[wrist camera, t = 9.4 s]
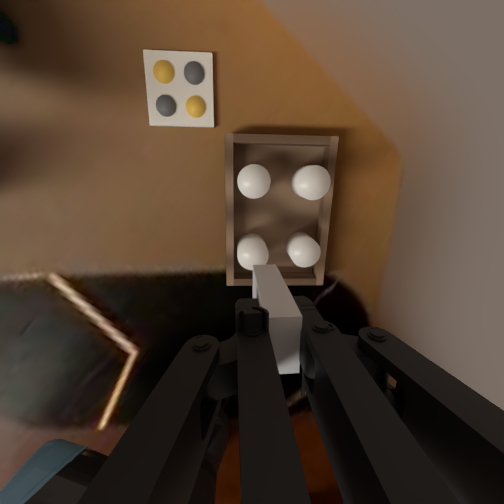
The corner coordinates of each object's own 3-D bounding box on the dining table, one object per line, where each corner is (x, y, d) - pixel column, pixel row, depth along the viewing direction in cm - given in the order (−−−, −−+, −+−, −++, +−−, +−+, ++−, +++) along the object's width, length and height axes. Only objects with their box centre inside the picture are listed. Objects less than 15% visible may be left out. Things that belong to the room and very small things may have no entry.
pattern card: (214, 127, 34) (213, 126, 33) (151, 125, 33) (149, 124, 32) (212, 54, 31) (211, 51, 30) (144, 51, 31) (142, 48, 30)
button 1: (311, 257, 39) (319, 267, 35) (284, 257, 38) (289, 267, 35) (313, 231, 37) (322, 238, 34) (286, 231, 37) (291, 238, 33)
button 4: (266, 195, 36) (270, 198, 32) (237, 195, 35) (237, 198, 31) (267, 165, 34) (271, 164, 31) (237, 164, 34) (237, 163, 30)
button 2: (318, 197, 35) (328, 200, 31) (289, 196, 35) (295, 200, 31) (321, 166, 34) (332, 165, 30) (291, 165, 34) (298, 164, 30)
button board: (316, 276, 41) (322, 284, 38) (227, 277, 40) (226, 285, 37) (330, 139, 35) (338, 136, 32) (225, 136, 34) (224, 133, 31)
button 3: (265, 260, 37) (268, 270, 33) (237, 260, 37) (237, 270, 33) (266, 233, 36) (269, 240, 32) (237, 232, 36) (237, 240, 32)
